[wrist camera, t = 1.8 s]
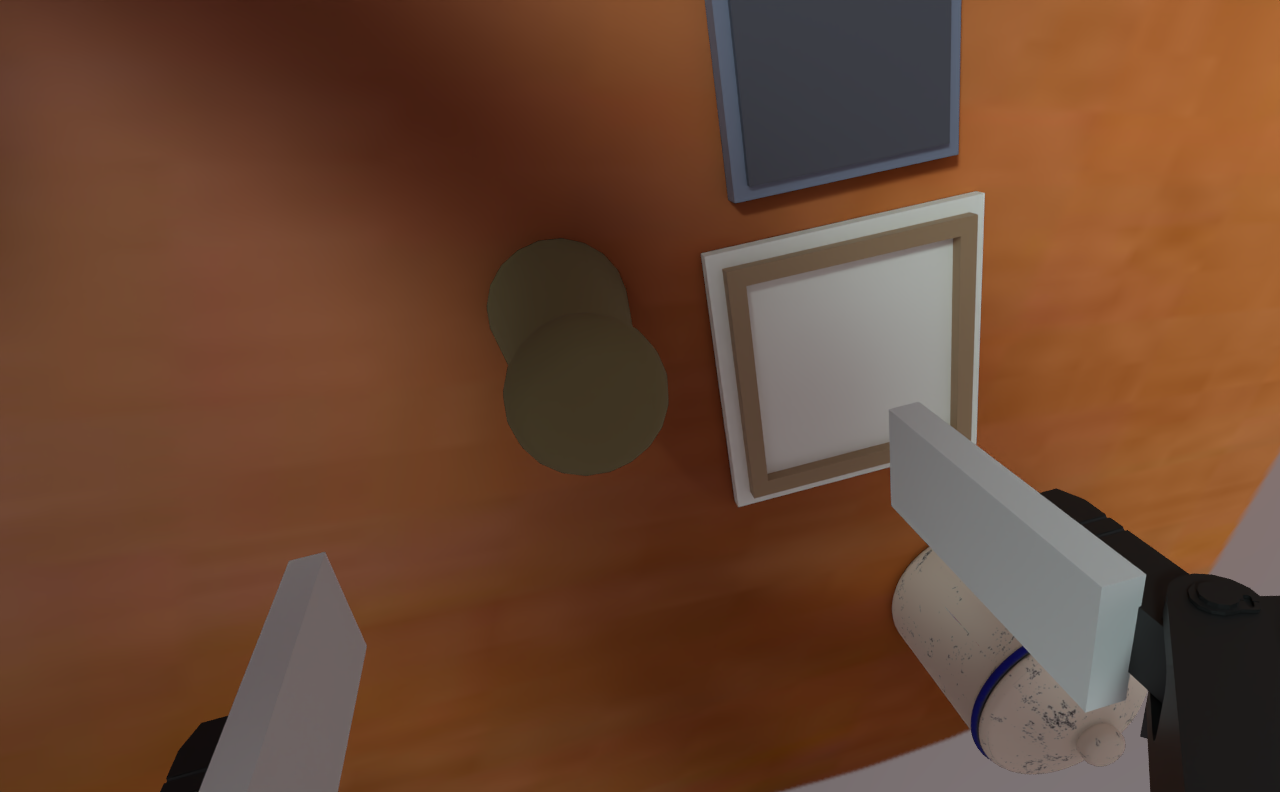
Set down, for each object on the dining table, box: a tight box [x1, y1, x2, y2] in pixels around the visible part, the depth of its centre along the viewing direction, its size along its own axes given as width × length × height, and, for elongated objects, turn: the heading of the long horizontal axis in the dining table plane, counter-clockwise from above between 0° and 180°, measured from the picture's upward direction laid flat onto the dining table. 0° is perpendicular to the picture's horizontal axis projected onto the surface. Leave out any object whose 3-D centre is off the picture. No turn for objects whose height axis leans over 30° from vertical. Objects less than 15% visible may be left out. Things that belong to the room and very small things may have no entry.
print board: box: [701, 191, 985, 507], centre depth 35 cm, size 13×13×1 cm
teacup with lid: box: [892, 546, 1148, 774], centre depth 38 cm, size 12×9×12 cm
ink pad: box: [705, 0, 961, 203], centre depth 29 cm, size 10×10×1 cm
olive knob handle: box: [487, 238, 668, 476], centre depth 27 cm, size 6×6×11 cm
